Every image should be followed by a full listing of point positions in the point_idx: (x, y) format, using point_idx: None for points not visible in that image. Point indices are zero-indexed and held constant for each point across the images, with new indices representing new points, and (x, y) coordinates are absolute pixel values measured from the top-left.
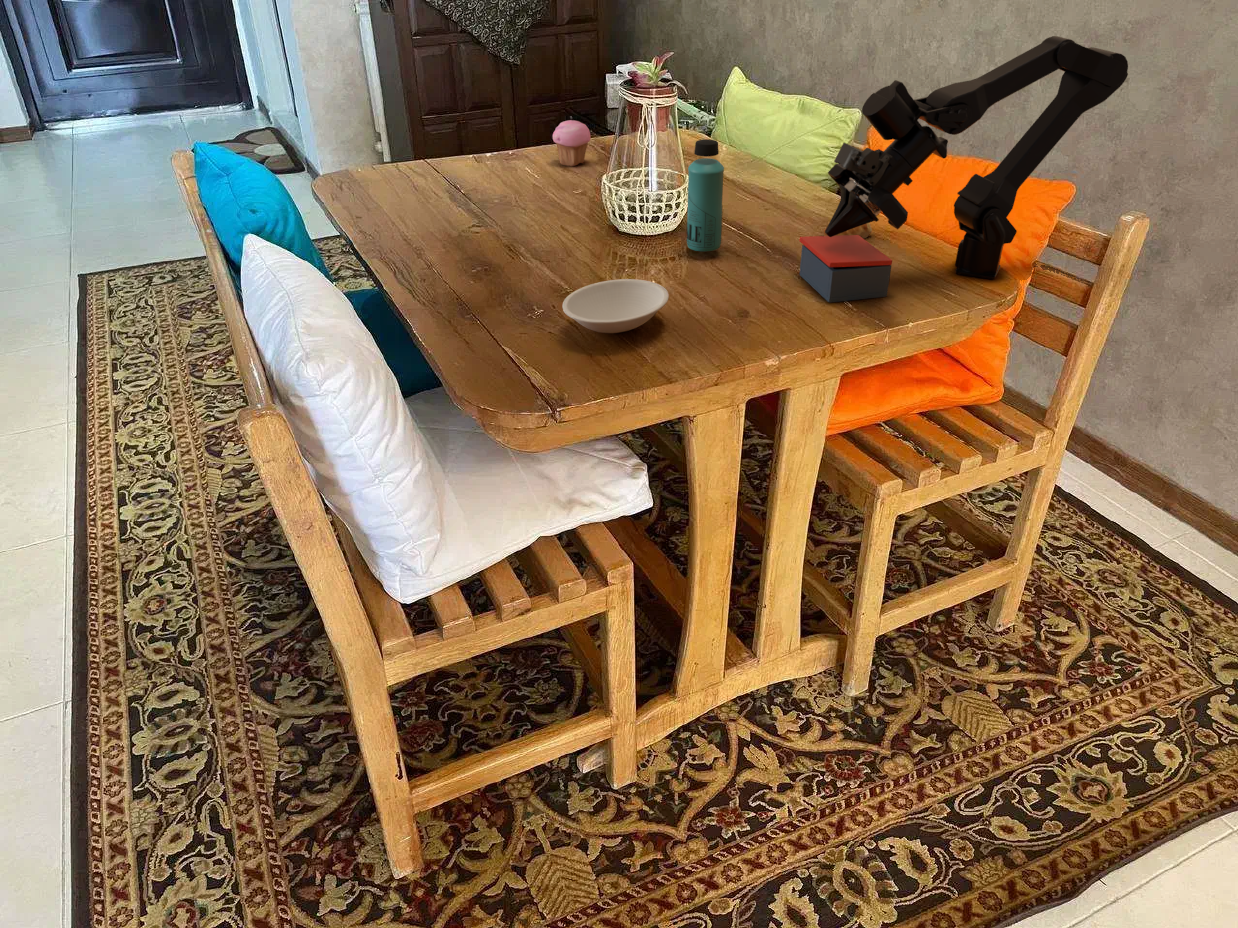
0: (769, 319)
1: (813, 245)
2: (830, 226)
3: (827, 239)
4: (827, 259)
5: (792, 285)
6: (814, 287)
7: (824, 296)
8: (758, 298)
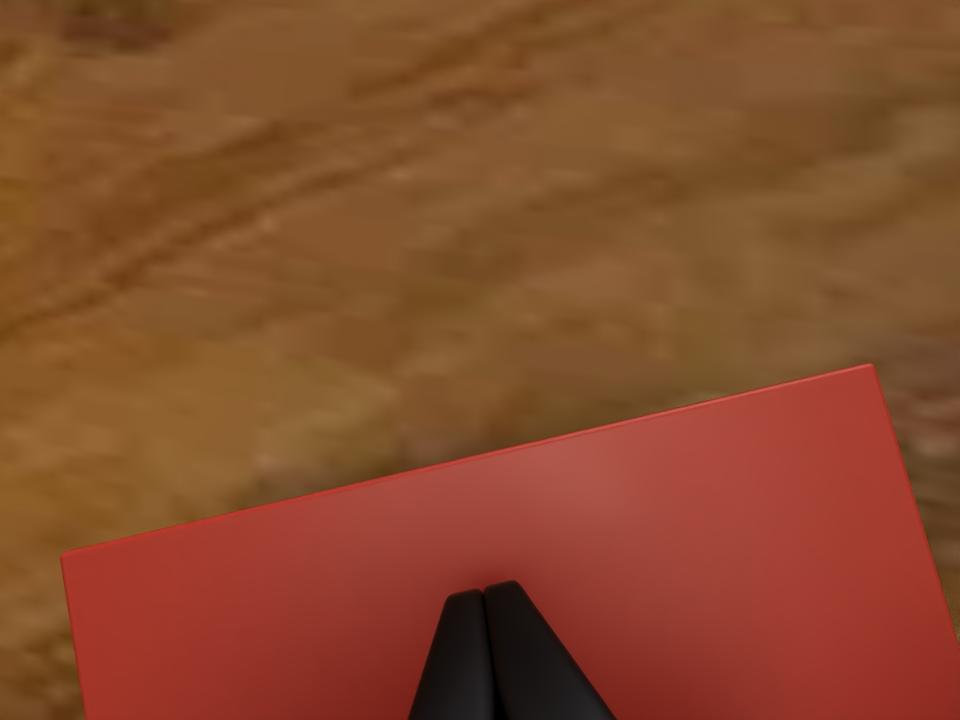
0: (25, 154)
1: (587, 466)
2: (470, 663)
3: (836, 675)
4: (150, 541)
5: (552, 361)
6: None
7: None
8: (340, 122)
